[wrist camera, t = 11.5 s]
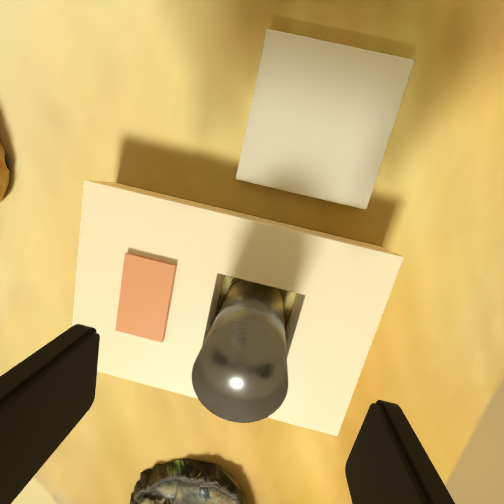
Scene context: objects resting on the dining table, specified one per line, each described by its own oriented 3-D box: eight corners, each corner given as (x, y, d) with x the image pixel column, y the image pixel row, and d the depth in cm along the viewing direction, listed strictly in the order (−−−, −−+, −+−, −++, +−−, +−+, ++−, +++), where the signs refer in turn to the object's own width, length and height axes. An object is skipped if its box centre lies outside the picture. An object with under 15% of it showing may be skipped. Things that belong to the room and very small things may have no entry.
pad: (267, 39, 15) (267, 28, 14) (405, 68, 15) (414, 59, 14) (237, 179, 17) (235, 178, 16) (360, 208, 17) (366, 209, 16)
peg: (233, 270, 18) (200, 326, 10) (289, 284, 18) (299, 351, 10) (221, 321, 19) (184, 408, 11) (275, 335, 19) (274, 433, 11)
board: (115, 182, 18) (80, 179, 14) (381, 246, 17) (406, 258, 14) (98, 339, 20) (65, 366, 17) (328, 400, 20) (338, 440, 16)
